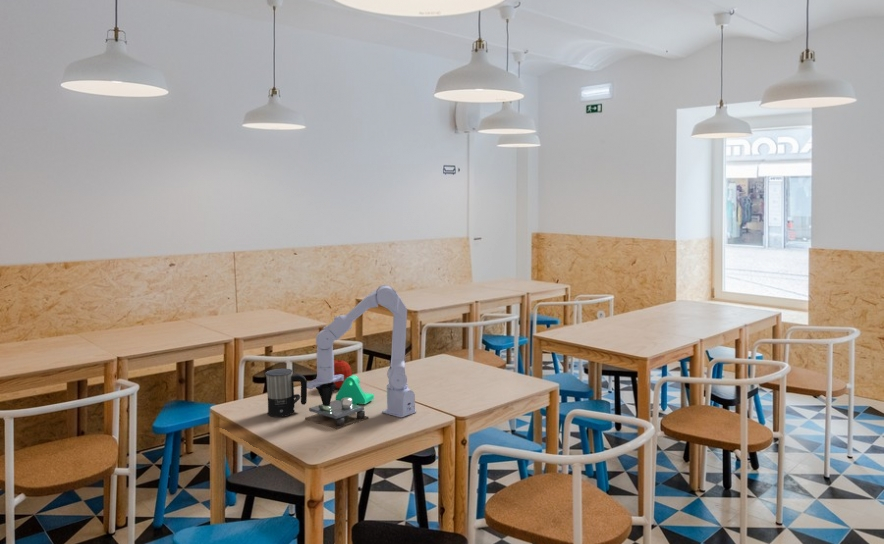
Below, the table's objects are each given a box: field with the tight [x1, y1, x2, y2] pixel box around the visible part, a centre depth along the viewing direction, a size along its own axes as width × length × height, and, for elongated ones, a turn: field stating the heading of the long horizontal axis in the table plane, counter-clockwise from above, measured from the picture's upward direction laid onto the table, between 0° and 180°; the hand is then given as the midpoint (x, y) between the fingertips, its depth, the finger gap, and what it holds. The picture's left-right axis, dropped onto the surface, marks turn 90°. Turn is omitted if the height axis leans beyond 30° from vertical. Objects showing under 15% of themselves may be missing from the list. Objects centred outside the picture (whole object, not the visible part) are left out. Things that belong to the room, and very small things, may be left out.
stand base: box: [304, 410, 369, 430], centre depth 223 cm, size 16×14×3 cm
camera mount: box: [335, 374, 375, 405], centre depth 242 cm, size 12×8×10 cm, turn 68°
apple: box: [333, 358, 353, 390], centre depth 261 cm, size 10×10×12 cm
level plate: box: [308, 397, 365, 419], centre depth 223 cm, size 14×12×4 cm
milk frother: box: [264, 368, 308, 418], centre depth 234 cm, size 14×16×15 cm
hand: (326, 405), depth 226 cm, fingers closed, pressing on level plate
